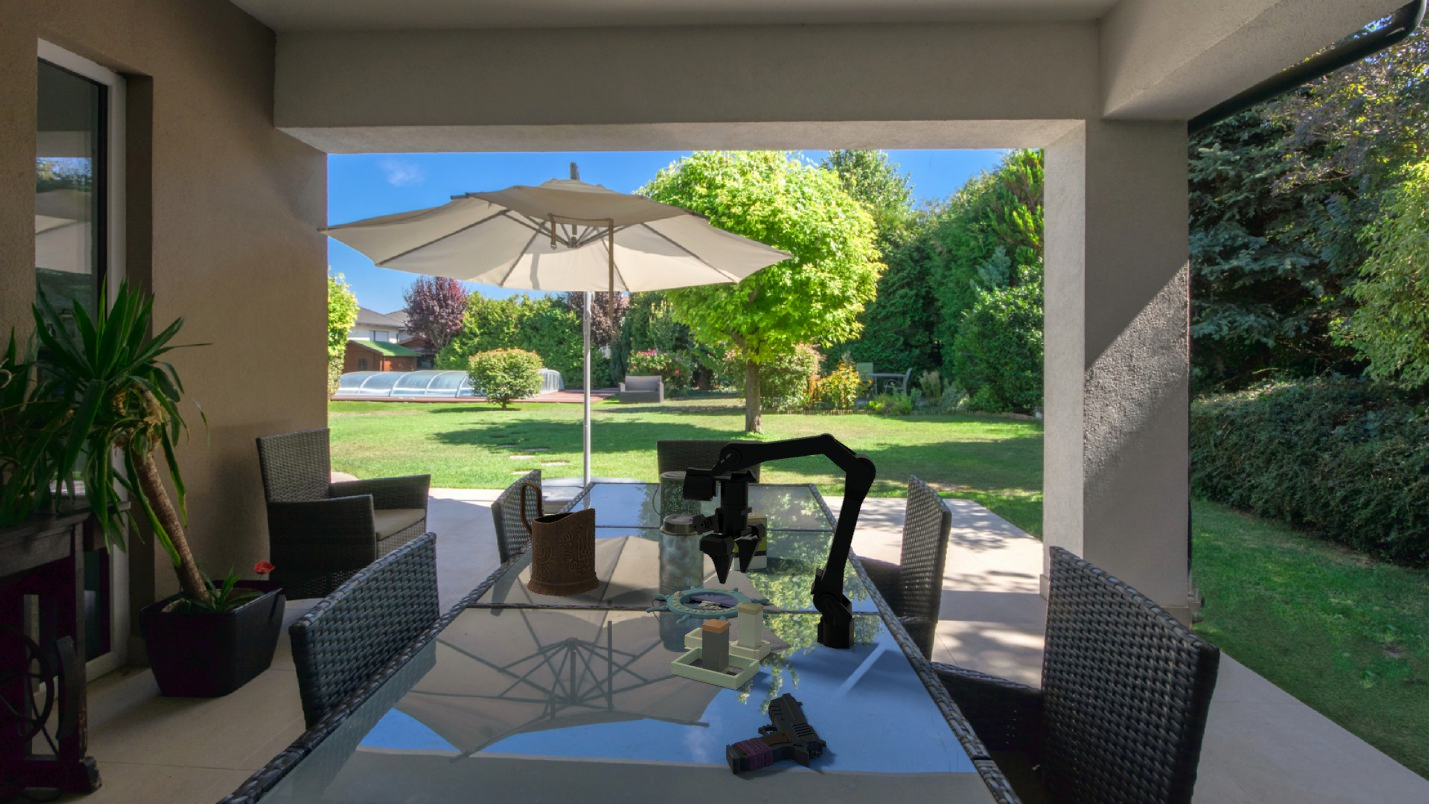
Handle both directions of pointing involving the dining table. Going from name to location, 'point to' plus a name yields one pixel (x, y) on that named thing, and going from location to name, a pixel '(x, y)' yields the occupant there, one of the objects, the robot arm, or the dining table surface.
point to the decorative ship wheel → (707, 603)
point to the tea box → (761, 553)
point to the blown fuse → (715, 646)
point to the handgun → (777, 739)
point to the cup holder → (560, 549)
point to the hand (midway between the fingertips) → (733, 578)
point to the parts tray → (712, 677)
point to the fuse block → (695, 640)
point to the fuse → (750, 625)
